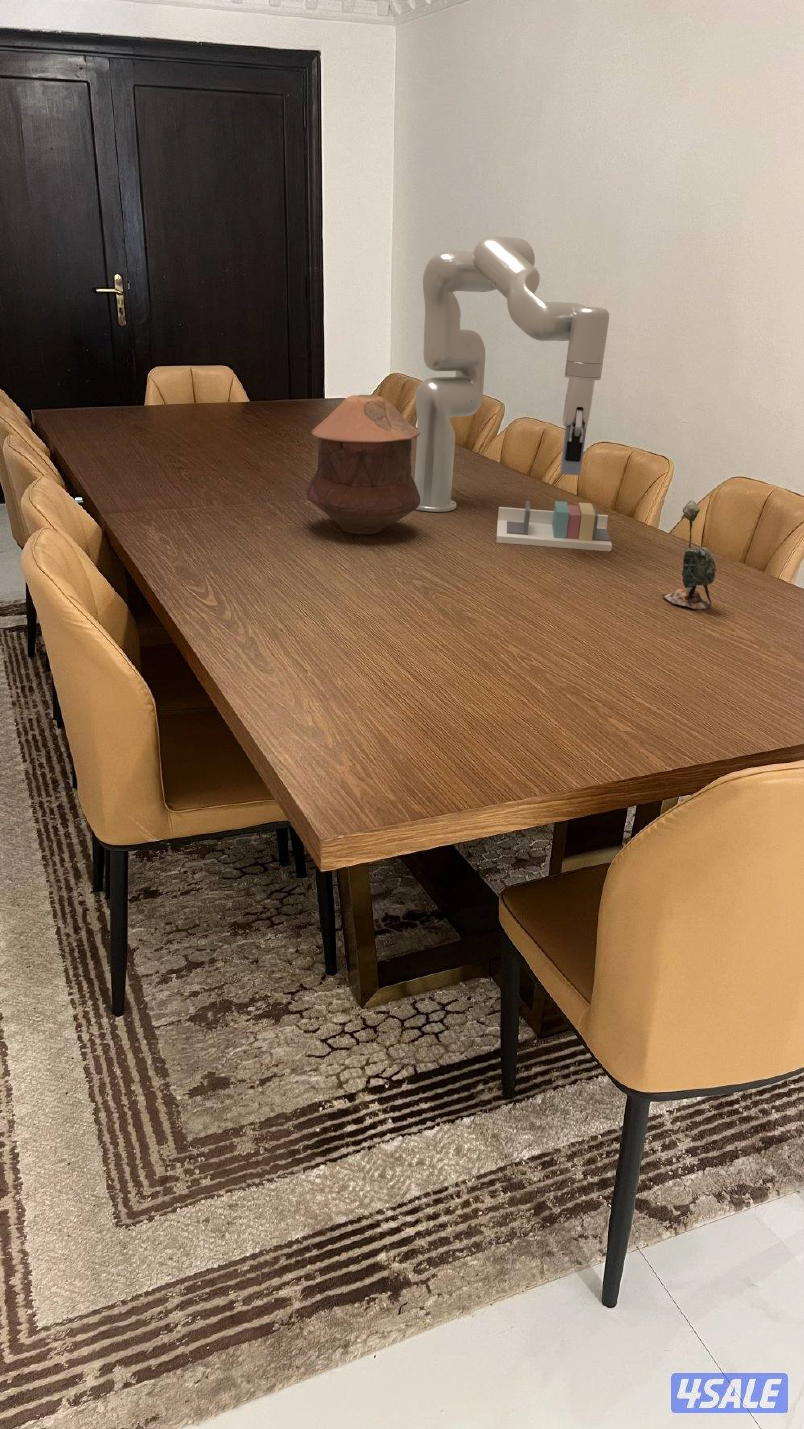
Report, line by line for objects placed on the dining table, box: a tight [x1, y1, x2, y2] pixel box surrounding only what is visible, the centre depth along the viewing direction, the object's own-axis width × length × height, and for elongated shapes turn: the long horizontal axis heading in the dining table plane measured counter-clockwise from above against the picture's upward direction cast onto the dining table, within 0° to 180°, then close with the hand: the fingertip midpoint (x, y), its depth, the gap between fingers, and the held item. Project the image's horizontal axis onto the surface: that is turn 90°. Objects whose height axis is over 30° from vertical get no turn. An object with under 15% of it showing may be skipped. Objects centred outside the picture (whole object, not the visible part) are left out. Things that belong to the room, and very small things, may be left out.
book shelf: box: [496, 500, 613, 552], centre depth 236 cm, size 26×16×8 cm, turn 84°
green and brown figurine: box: [662, 500, 717, 611], centre depth 193 cm, size 8×11×20 cm
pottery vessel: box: [305, 394, 420, 535], centre depth 228 cm, size 26×26×30 cm
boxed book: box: [559, 425, 588, 476], centre depth 218 cm, size 4×6×10 cm, turn 174°
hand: (571, 457), depth 219 cm, fingers closed on boxed book, 6 cm apart
